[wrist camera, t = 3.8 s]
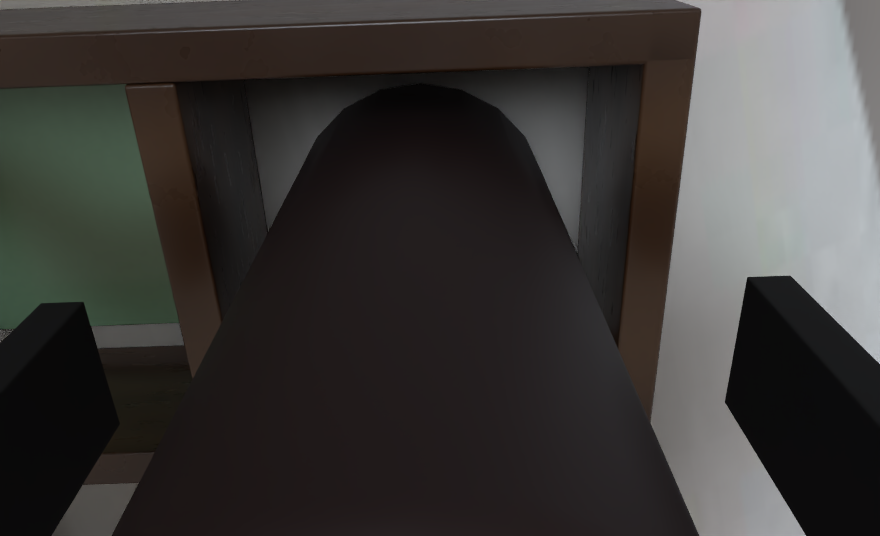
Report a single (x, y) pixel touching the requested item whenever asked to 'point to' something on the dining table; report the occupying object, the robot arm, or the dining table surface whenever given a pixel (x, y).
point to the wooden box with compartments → (235, 170)
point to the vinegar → (412, 356)
